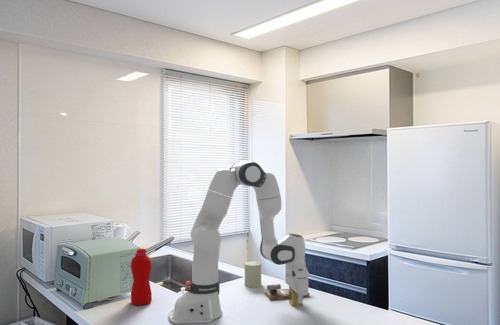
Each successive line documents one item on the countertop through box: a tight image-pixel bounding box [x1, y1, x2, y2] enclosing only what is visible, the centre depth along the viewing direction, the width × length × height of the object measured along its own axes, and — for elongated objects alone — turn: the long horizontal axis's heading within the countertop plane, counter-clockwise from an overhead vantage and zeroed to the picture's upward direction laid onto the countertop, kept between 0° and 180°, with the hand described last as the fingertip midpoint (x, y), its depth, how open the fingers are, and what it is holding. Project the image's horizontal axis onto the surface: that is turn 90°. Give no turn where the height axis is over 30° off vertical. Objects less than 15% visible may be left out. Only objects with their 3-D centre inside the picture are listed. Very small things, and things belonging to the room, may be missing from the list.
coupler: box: [288, 290, 304, 307], centre depth 177 cm, size 5×4×6 cm
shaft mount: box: [264, 283, 310, 301], centre depth 189 cm, size 20×9×6 cm, turn 104°
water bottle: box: [126, 248, 153, 306], centre depth 180 cm, size 9×11×25 cm
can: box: [243, 260, 263, 289], centre depth 205 cm, size 9×9×12 cm
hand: (296, 298), depth 177 cm, fingers open, 8 cm apart
